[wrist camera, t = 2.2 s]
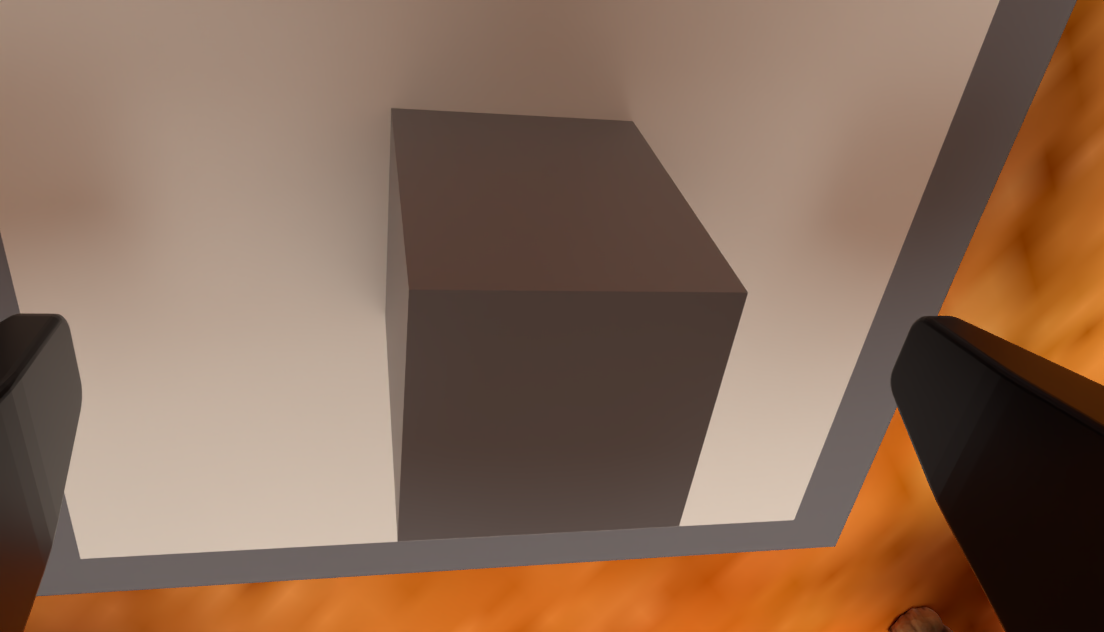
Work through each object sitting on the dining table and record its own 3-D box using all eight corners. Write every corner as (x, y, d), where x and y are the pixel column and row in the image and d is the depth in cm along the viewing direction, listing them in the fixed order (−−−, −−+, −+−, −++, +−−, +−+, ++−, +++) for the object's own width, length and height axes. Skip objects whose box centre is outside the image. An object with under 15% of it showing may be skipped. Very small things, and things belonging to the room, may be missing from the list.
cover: (95, 510, 14) (-5, 826, 10) (-118, -451, 8) (-624, -612, 4) (772, 481, 17) (903, 723, 13) (1040, -251, 10) (1472, -224, 6)
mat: (-5, 575, 15) (-14, 599, 15) (-469, -837, 7) (-523, -875, 6) (824, 528, 19) (834, 546, 19) (1233, -432, 10) (1271, -439, 10)
